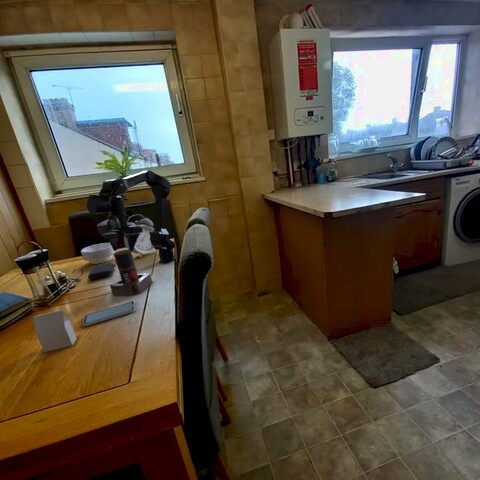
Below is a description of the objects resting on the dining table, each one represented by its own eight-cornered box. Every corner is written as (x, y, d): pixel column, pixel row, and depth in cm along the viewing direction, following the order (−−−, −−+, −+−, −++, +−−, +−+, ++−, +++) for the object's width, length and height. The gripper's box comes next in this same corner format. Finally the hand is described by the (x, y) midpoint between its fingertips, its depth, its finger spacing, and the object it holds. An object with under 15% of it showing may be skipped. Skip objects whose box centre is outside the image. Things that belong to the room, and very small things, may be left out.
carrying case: (115, 276, 124) (117, 266, 137) (113, 269, 123) (115, 260, 136) (88, 282, 121) (93, 271, 134) (86, 275, 120) (91, 265, 133)
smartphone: (85, 314, 90) (134, 300, 96) (85, 317, 91) (134, 302, 96) (82, 325, 84) (134, 309, 90) (83, 327, 84) (135, 311, 90)
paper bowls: (107, 264, 142) (102, 250, 139) (79, 267, 143) (73, 253, 140) (122, 254, 156) (118, 241, 153) (96, 257, 157) (91, 244, 154)
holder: (128, 282, 115) (125, 273, 114) (153, 281, 113) (151, 272, 112) (110, 295, 105) (107, 286, 103) (138, 294, 103) (135, 285, 101)
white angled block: (72, 345, 76) (59, 313, 72) (44, 352, 74) (29, 320, 71) (76, 337, 79) (64, 307, 76) (50, 344, 78) (35, 313, 74)
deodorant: (125, 293, 105) (113, 256, 100) (124, 288, 110) (113, 252, 105) (141, 288, 108) (131, 252, 102) (140, 283, 113) (130, 248, 107)
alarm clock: (136, 260, 143) (124, 218, 135) (127, 259, 147) (115, 218, 140) (162, 250, 155) (153, 211, 147) (153, 249, 160) (143, 211, 152)
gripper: (82, 214, 107) (89, 253, 110) (117, 212, 100) (123, 255, 103) (107, 212, 117) (113, 249, 120) (141, 211, 110) (146, 250, 113)
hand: (123, 250), depth 114 cm, fingers open, 9 cm apart
